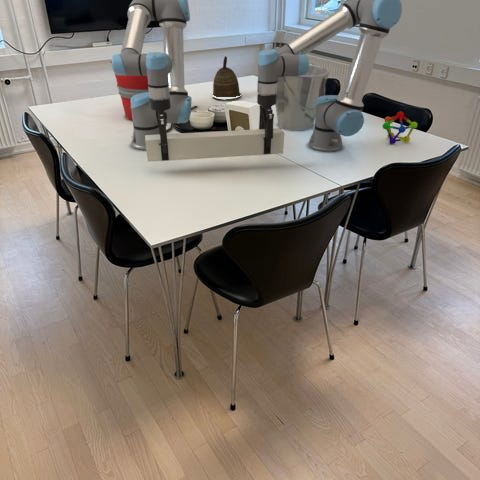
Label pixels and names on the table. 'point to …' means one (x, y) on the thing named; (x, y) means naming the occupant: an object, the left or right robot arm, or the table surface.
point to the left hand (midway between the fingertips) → (165, 156)
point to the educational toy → (398, 128)
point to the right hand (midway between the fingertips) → (265, 150)
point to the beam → (214, 144)
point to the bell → (225, 82)
